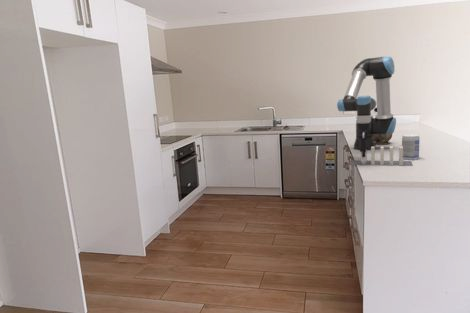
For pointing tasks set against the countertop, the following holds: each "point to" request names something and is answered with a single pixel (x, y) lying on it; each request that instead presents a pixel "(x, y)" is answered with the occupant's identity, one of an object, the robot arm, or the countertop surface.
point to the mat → (386, 163)
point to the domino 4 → (400, 155)
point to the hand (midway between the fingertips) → (363, 161)
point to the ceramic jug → (381, 136)
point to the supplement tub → (410, 146)
